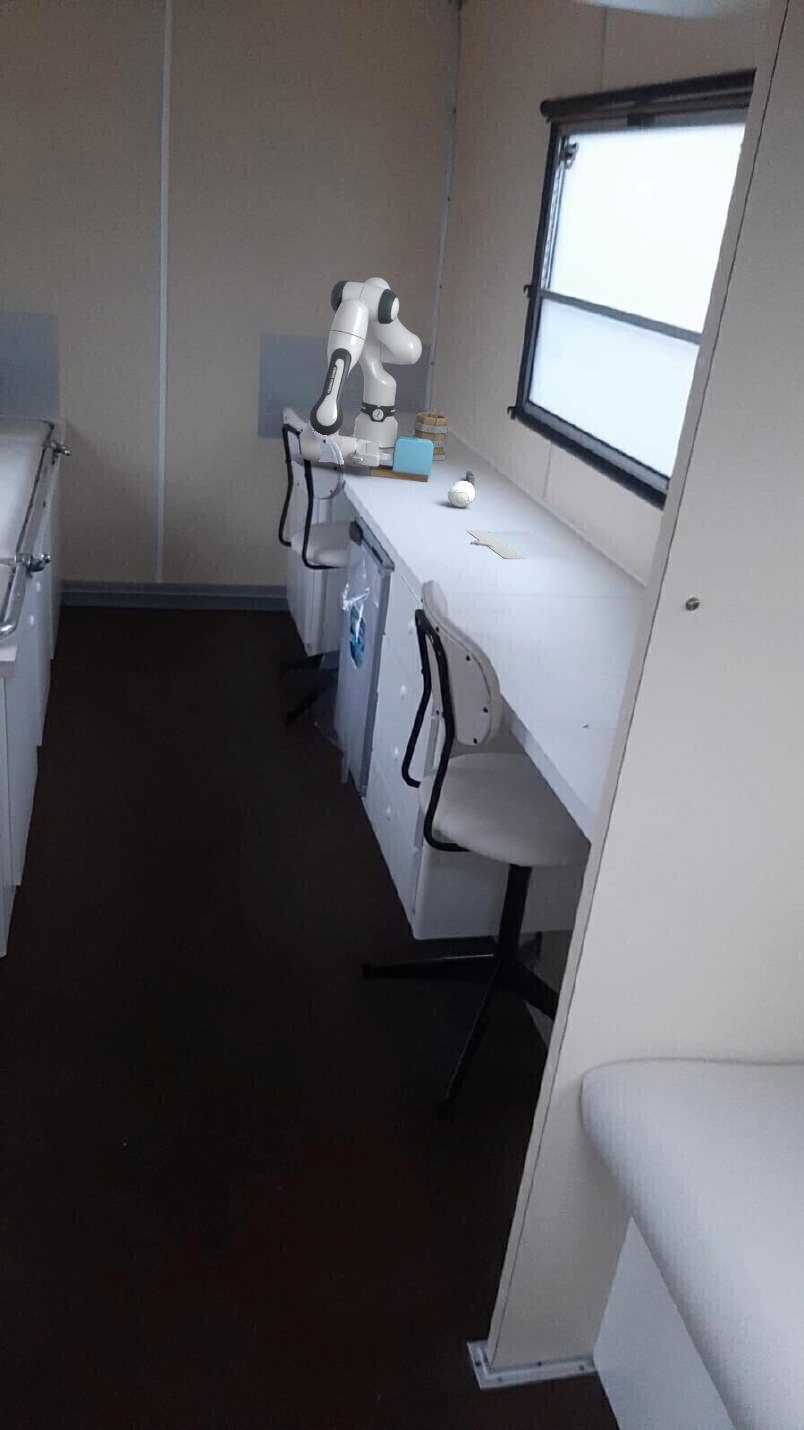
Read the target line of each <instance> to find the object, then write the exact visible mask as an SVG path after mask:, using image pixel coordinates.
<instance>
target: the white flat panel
mask: <svg viewBox="0 0 804 1430" xmlns="http://www.w3.org/2000/svg"><path fill="white" fill-rule="evenodd" d="M466 532H467V533H469V534H470V535H472V536H473V537H474V538H475V539H477V540H474V541H470V543H469V544H470V545H475V546H483V547H484V546H485V547H488V548H490V549H491V550H492V551H494V552H495V553H496V554H498V555H499V556H500V557H502V558H503V559H510V560H527V557H525V556H524V555H522V554H520V553H519V552H517V550H515V549H514V548H511V547H510V546H509V545H507V544H506V543H505V542H503V541H501V540H500V539H499V538H497V537H496V536H494V535H493V534H491V533H490V532H488V531H487V530H476V529H474V530H473V529H466Z"/></svg>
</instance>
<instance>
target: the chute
mask: <svg viewBox="0 0 804 1430" xmlns="http://www.w3.org/2000/svg"><path fill="white" fill-rule="evenodd" d="M369 471H370V475H369V477H377V478H386V479H395V480H403V481H411V482H421V483H428V480H429V479H428V475H424V474H415V473H406V472H397V471H392V465H390V464H381V463H379V466H376V467H374V466H369ZM475 480H476V479H475V475H474V473H473V471H472V470H466V473H465V481H467V482H468V483H471V484H472V486H473V487H474V486H475Z"/></svg>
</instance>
